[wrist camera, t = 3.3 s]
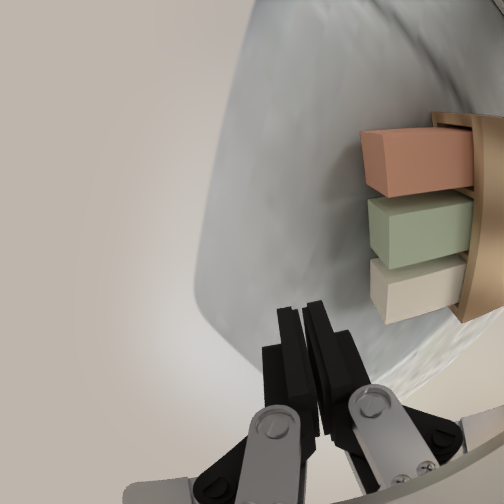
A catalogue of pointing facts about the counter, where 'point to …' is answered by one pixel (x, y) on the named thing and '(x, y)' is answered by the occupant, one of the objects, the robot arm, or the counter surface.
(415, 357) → the counter surface
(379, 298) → the plunger ivory
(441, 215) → the plunger sage
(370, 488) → the robot arm
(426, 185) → the plunger terracotta
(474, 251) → the housing
